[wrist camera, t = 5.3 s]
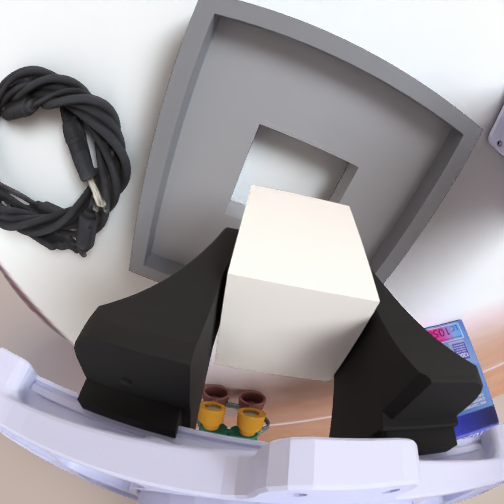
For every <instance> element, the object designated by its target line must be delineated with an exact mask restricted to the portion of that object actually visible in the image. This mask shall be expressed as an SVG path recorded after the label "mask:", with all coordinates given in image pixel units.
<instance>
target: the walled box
mask: <svg viewBox="0 0 504 504" xmlns="http://www.w3.org/2000/svg"><path fill="white" fill-rule="evenodd" d="M260 124H261V125H263V126H266V127H269V128H271V129H274V130H276V131H279V132H281V133H284V134H286V135H288V136H291V137H293V138H296V139H298V140H300V141H303V142H305V143H307V144H310V145H312V146H314V147H317V148H319V149H321V150H323V151H325V152H328V153H330V154H332V155H334V156H336V157H338V158H341V159H343V160H345V161H347V162H349V164H348V166H347V168H346V170H345V172H344V173H343V175H342V177H341V179H340V181H339V183H338V185H337V186H336V188H335V190H334V192H333V194H332V196H331V198H330V199H329V201H330V202H334V203H338V204H342V205H347V206H349V207H350V210H351V212H352V215H353V218H354V221H355V224H356V227H357V229H358V232H359V235H360V238H361V241H362V244H363V247H364V250H365V254H366V257H367V260H368V263H369V266H370V268H371V269H372V270H373V272H374V273H375V274H376V276H377V277H378V278H379V279H380V281H381V282H382V283H383V284H384V282H385V281H386V280H387V278H388V277H389V276H390V275H391V273H392V272H393V271H394V269H395V268H396V267H397V265H398V264H399V263H400V261H401V260H402V259H403V257H404V256H405V254H406V253H407V252H408V250H409V249H410V248H411V246H412V245H413V243H414V242H415V240H416V239H417V238H418V236H419V235H420V233H421V232H422V230H423V229H424V227H425V226H426V225H427V223H428V222H429V220H430V219H431V217H432V216H433V214H434V213H435V211H436V209H437V208H438V206H439V205H440V203H441V202H442V200H443V199H444V197H445V195H446V194H447V192H448V191H449V189H450V187H451V186H452V184H453V182H454V181H455V179H456V177H457V176H458V174H459V172H460V171H461V169H462V167H463V165H464V164H465V162H466V160H467V158H468V157H469V155H470V153H471V151H472V149H473V147H474V146H475V144H476V142H477V140H478V138H479V136H480V134H481V132H482V130H483V129H482V128H480V127H479V126H478V125H477V124H476V123H475V122H473V121H472V120H471V119H470V118H468V117H467V116H466V115H465V114H463V113H462V112H461V111H460V110H458V109H457V108H456V107H454V106H453V105H452V104H450V103H449V102H448V101H446V100H445V99H444V98H442V97H441V96H440V95H438V94H437V93H435V92H434V91H432V90H431V89H430V88H428V87H427V86H425V85H424V84H422V83H421V82H419V81H418V80H416V79H415V78H413V77H411V76H410V75H408V74H407V73H405V72H403V71H402V70H400V69H398V68H397V67H395V66H393V65H392V64H390V63H388V62H387V61H385V60H383V59H381V58H379V57H378V56H376V55H374V54H372V53H370V52H368V51H366V50H365V49H363V48H361V47H359V46H357V45H355V44H353V43H351V42H349V41H347V40H345V39H342V38H340V37H338V36H336V35H334V34H332V33H329V32H327V31H325V30H322V29H320V28H318V27H315V26H313V25H310V24H308V23H305V22H303V21H300V20H298V19H295V18H292V17H290V16H287V15H284V14H281V13H278V12H275V11H273V10H269V9H266V8H263V7H260V6H257V5H253V4H250V3H246V2H243V1H239V0H198V2H197V5H196V7H195V10H194V12H193V15H192V17H191V20H190V23H189V25H188V28H187V31H186V33H185V36H184V39H183V42H182V44H181V47H180V50H179V53H178V56H177V59H176V62H175V65H174V68H173V71H172V74H171V77H170V81H169V84H168V87H167V91H166V94H165V97H164V101H163V104H162V108H161V112H160V115H159V119H158V123H157V126H156V130H155V134H154V138H153V142H152V146H151V151H150V155H149V159H148V164H147V168H146V173H145V178H144V183H143V187H142V193H141V198H140V203H139V208H138V214H137V220H136V226H135V232H134V238H133V245H132V252H131V259H130V267H129V271H131V272H134V273H136V274H139V275H141V276H144V277H146V278H149V279H151V280H154V281H157V282H159V283H160V282H161V281H163V280H165V279H167V278H168V277H170V276H171V275H173V274H175V273H176V272H178V271H179V270H180V269H182V268H183V267H184V266H186V265H187V264H188V263H190V262H191V261H192V260H193V259H194V258H196V257H197V256H198V255H199V254H200V253H202V252H203V251H204V250H205V249H206V248H207V247H208V246H209V245H210V244H211V243H212V242H213V241H214V240H215V239H216V238H217V237H218V236H219V234H220V233H221V232H222V231H223V229H225V228H226V227H229V228H234V229H240V225H241V222H242V218H243V214H244V211H245V207H246V206H245V205H242V204H239V203H237V202H234V201H231V200H230V198H231V196H232V193H233V191H234V188H235V185H236V183H237V180H238V178H239V175H240V172H241V170H242V167H243V165H244V162H245V160H246V157H247V155H248V152H249V149H250V147H251V144H252V142H253V139H254V137H255V134H256V132H257V130H258V127H259V125H260Z"/></svg>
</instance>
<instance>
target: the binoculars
mask: <svg viewBox="0 0 504 504" xmlns="http://www.w3.org/2000/svg"><path fill="white" fill-rule="evenodd" d="M229 396H230V391H229V390H228V389H227V388H225V387H223V386H220V385H208V386H206V387H204V389H203V401H202V402H201V404H200V408H199V413H198V418H197V423H198V426H199V430H200V431H204V432H209V433H214V434H220V435H225V436H231V437H237V438H243V439H249V440H257V437H258V436H259V435H260V433H263V432H264V431H266V430H267V429H268V428H269V424H270V422H269V420H268V419H267V417H266V413H265V412H264V411H262V409H263V406H264V404H265V401H266V397H265V396H264V395H263V394H262V393H260V392H257V391H252V390H247V391H243V392H241V393H240V394H239V404H233V403H227V402H228V399H229ZM226 407H229V408H235V409H239V410H238V417H237V426H234V427H231V428H230V429H227V426H225V425H224V424H222V422H223V419H224V415H225V410H226ZM264 422H265V423H266V424H267V425H266V426H264V427H263V423H264Z"/></svg>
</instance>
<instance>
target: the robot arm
mask: <svg viewBox="0 0 504 504" xmlns="http://www.w3.org/2000/svg"><path fill="white" fill-rule="evenodd" d="M488 141H489V143H490V144H491V145H492V146H493V147H494V148H495V149H496V150H497V151H498V152H499V153H500V154H502V155H503V156H504V105H503V107H502V109H501V111H500V113H499V115H498V118H497V120H496V122H495V124H494V126H493V128H492V130H491V132H490V134H489V136H488ZM498 141H499V145H497V142H498ZM238 233H239V229H234V228H229V227H226V228H225V229H223V231H222V232H221V233H220V234H219V236H218V237H217V238H216V239H215V240H214V241H213V242H212V243H211V244H210V245H209V246H208V247H207V248H206V249H205V250H204V251H203V252H202V253H200V254H199V255H198V256H197V257H196V258H194V259H193V260H192V261H191V262H190V263H188V264H187V265H186V266H184V267H183V268H182V269H180V270H179V271H178V272H176V273H175V274H173V275H171V276H170V277H168V278H167V279H165V280H163V281H161V282H160V283H158V284H156V285H154V286H152V287H151V288H148V289H146V290H144V291H142V292H140V293H137V294H135V295H132V296H130V297H127V298H124V299H121V300H118V301H115V302H112V303H109V304H105V305H102V306H99V307H98V308H97V309H96V311H95V312H94V313H93V314H92V315H91V317H90V318H89V320H88V321H87V323H86V324H85V326H84V328H83V329H82V331H81V333H80V335H79V336H78V338H77V340H76V342H75V346H74V349H75V353H76V356H77V359H78V361H79V363H80V365H81V367H82V370H83V372H84V374H85V376H86V378H87V379H86V381H85V383H84V386H83V387H82V390H81V392H80V394H79V393H76V392H74V391H71V390H69V389H67V388H64V387H62V386H60V385H57V384H55V383H53V382H51V381H49V380H47V379H44V378H42V377H40V376H38V375H37V374H36V371H35V369H34V368H33V366H32V365H31V364H30V363H29V362H27V360H25V359H24V358H22V357H20V356H18V355H16V354H14V353H12V352H10V351H9V350H7V349H5V348H0V432H1V433H2V434H3V435H4V436H6V437H7V438H9V439H11V440H12V441H14V442H15V443H17V444H19V445H20V446H22V447H23V448H25V449H27V450H29V451H30V452H32V453H34V454H35V455H37V456H39V457H41V458H42V459H44V460H46V461H48V462H50V463H52V464H53V465H56V466H58V467H59V468H61V469H63V470H65V471H67V472H69V473H71V474H73V475H75V476H77V477H80V478H82V479H84V480H86V481H88V482H91V483H93V484H95V485H97V486H100V487H102V488H105V489H107V490H110V491H112V492H115V493H117V494H120V495H123V496H125V497H128V498H131V499H134V500H137V504H452V503H456V502H459V501H462V500H465V499H468V498H471V497H474V496H477V495H480V494H482V493H484V492H486V491H489V490H490V489H493V488H495V487H497V486H499V485H501V484H502V483H504V424H499V425H496V426H493V427H491V428H489V429H488V430H486V431H485V432H484V433H482V434H481V436H477V437H471V438H466V439H460V440H456V435H455V430H454V427H456V426H457V425H458V419H457V415H458V414H459V413H461V412H462V411H463V410H464V409H466V408H467V407H468V406H469V405H470V404H471V403H473V402H474V401H475V400H476V399H477V398H478V396H479V395H480V393H481V391H482V388H483V384H482V381H481V377H480V374H479V371H478V368H477V366H476V365H474V364H473V363H471V362H469V361H468V360H466V359H465V358H463V357H461V356H460V355H458V354H456V353H455V352H454V351H452V350H451V349H449V348H448V347H447V346H445V345H444V344H443V343H441V342H440V341H439V340H437V339H436V338H435V337H434V336H433V335H431V334H430V333H429V332H428V331H427V330H426V329H424V328H423V327H422V326H421V325H420V324H419V323H418V322H417V321H416V320H415V319H414V318H413V317H412V316H411V315H410V314H409V313H408V312H407V311H406V310H405V309H404V308H403V307H402V306H401V305H400V304H399V302H398V301H397V300H396V299H395V298H394V297H393V296H392V294H391V293H390V292H389V291H388V289H387V288H386V287H385V286H384V285H383V283H382V282H381V281H380V279H379V278H378V277H377V276H376V274H375V273H374V272H373V270H372V269H371V268H370V270H371V273H372V276H373V279H374V283H375V286H376V290H377V293H378V297H379V300H380V302H379V304H378V306H377V307H376V309H375V311H374V313H373V314H372V316H371V318H370V319H369V321H368V323H367V324H366V326H365V328H364V329H363V331H362V333H361V334H360V336H359V338H358V339H357V341H356V342H355V344H354V345H353V347H352V349H351V350H350V352H349V353H348V355H347V356H346V358H345V359H344V361H343V362H342V364H341V365H340V367H339V368H338V370H337V371H336V373H335V374H334V395H333V409H332V419H331V428H330V435H329V438H327V437H288V438H283V439H277V440H273V441H271V442H264V441H257V440H249V439H243V438H237V437H231V436H225V435H220V434H214V433H209V432H204V431H200V430H195V428H196V423H197V418H198V413H199V408H200V404H201V399H202V394H203V389H204V385H205V380H206V375H207V371H208V366H209V362H210V357H211V353H212V348H213V345H214V341H215V338H216V335H217V332H218V329H219V326H220V321H221V314H222V308H223V301H224V294H225V288H226V281H227V275H228V270H229V267H230V263H231V259H232V255H233V251H234V248H235V244H236V240H237V236H238Z"/></svg>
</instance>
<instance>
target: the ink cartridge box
mask: <svg viewBox="0 0 504 504" xmlns="http://www.w3.org/2000/svg"><path fill="white" fill-rule="evenodd" d="M425 329H426V330H427V331H428V332H429V333H430V334H431V335H433V336H434V337H435V338H436V339H437V340H439V341H440V342H441V343H443V344H444V345H445V346H447V347H448V348H449V349H451V350H452V351H454V352H455V353H456V354H458V355H460V356H461V357H463V358H465V359H466V360H468V361H469V362H471V363H473V364H474V365H476V366H477V368H478V371H479V374H480V377H481V381H482V384H483V388H482V391H481V393H480V395H479V396H478V398H477V399H476V400H475V401H474V402H473V403H471V404H470V405H469V406H468V407H467V408H466V409H464V410H463V411H462V412H461V413H459V414H458V415H457V419H458V425H457V426H456V427H454V430H455V435H456V440H460V439H466V438H471V437H477V436H481V434H482V433H484V432H485V431H486V430H488V429H489V428H491V427H493V426H496V425H499V420H498V417H497V414H496V410H495V407H494V404H493V401H492V398H491V394H490V391H489V388H488V386H487V383H486V380H485V377H484V374H483V372H482V369H481V366H480V364H479V361H478V358H477V356H476V353H475V351H474V348H473V346H472V344H471V341H470V339H469V336H468V334H467V331H466V329H465V327H464V325H463V322H462V320H458V321H454V322H450V323H446V324H442V325H438V326H434V327H429V328H425Z"/></svg>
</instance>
